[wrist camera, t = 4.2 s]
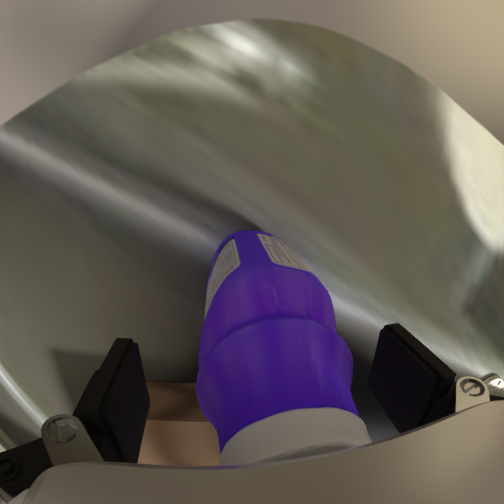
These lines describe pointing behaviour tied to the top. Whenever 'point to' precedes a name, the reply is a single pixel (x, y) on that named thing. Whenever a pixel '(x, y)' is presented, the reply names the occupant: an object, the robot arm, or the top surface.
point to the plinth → (177, 428)
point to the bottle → (273, 357)
